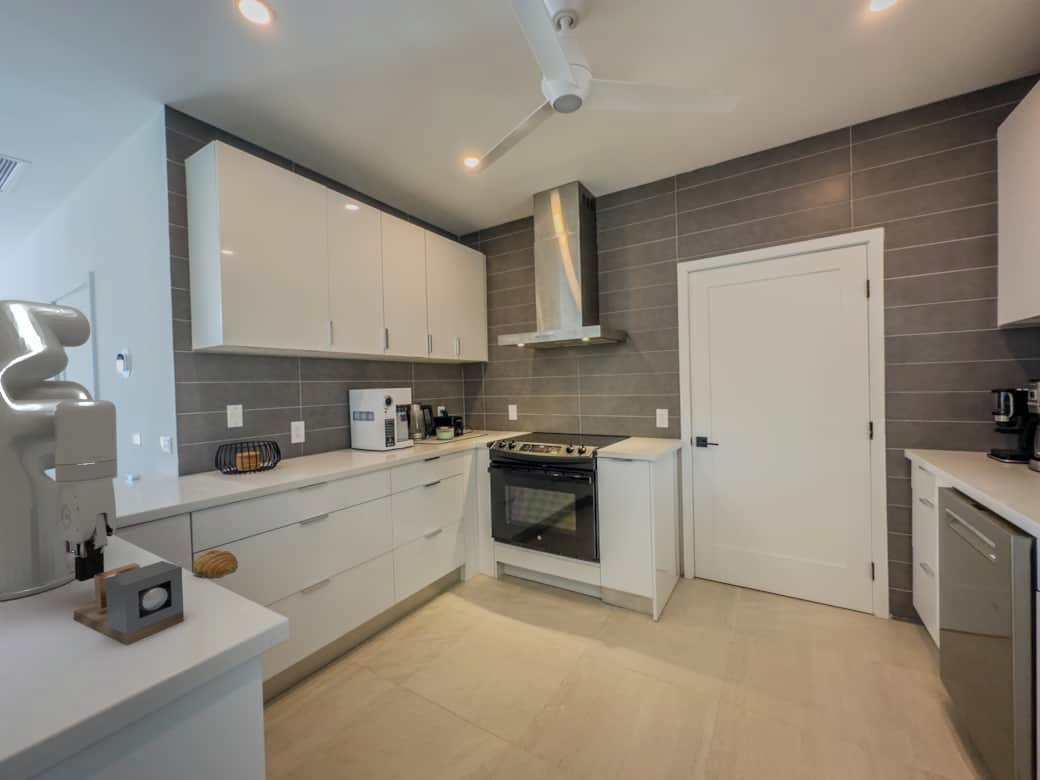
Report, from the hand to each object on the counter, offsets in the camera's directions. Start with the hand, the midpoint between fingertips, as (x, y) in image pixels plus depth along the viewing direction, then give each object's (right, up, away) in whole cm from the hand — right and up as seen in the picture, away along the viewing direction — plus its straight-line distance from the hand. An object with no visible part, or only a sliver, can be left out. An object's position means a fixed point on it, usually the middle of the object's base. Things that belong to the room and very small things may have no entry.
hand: (89, 577), depth 74 cm
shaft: (+14, -2, -7) cm, 16 cm away
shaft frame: (+13, -4, -6) cm, 15 cm away
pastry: (+13, -5, +13) cm, 19 cm away
